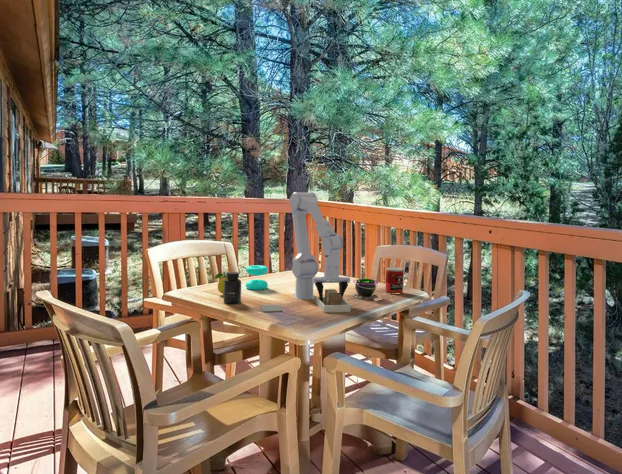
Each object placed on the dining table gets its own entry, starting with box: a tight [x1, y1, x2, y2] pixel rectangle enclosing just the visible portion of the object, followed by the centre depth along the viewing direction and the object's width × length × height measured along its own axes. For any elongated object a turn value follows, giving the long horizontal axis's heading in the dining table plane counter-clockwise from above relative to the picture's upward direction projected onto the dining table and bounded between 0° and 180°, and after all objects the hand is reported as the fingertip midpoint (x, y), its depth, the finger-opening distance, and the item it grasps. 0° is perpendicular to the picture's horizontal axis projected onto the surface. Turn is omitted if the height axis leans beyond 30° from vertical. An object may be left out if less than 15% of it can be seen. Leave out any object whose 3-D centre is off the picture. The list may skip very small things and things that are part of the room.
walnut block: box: [329, 292, 342, 305], centre depth 189 cm, size 4×4×6 cm
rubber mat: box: [260, 304, 283, 313], centre depth 190 cm, size 9×9×1 cm
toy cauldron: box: [352, 273, 379, 301], centre depth 213 cm, size 15×15×11 cm
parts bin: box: [315, 296, 352, 313], centre depth 193 cm, size 14×10×3 cm
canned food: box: [384, 266, 404, 294], centre depth 224 cm, size 8×8×11 cm
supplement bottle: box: [223, 271, 242, 305], centre depth 199 cm, size 7×7×12 cm
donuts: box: [245, 264, 269, 291], centre depth 227 cm, size 10×10×10 cm
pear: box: [214, 271, 227, 296], centre depth 212 cm, size 7×6×10 cm
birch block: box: [324, 288, 338, 305], centre depth 196 cm, size 4×4×6 cm
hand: (330, 301), depth 196 cm, fingers open, 7 cm apart
